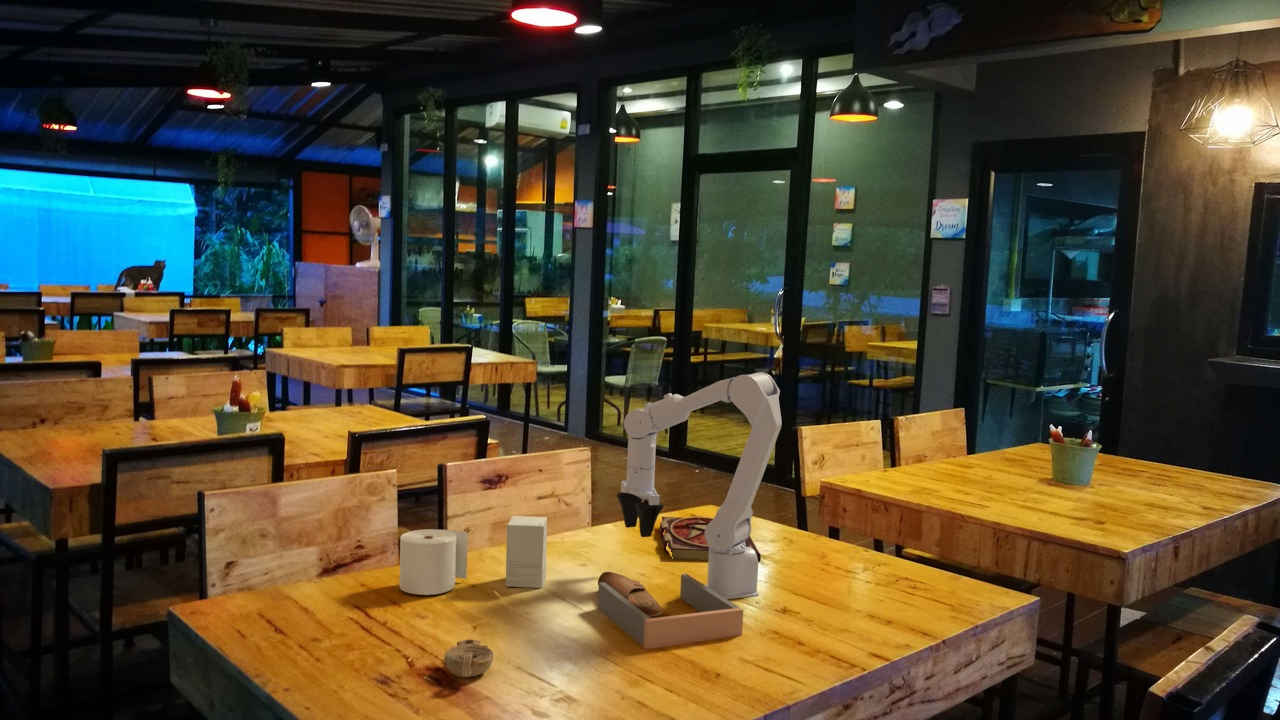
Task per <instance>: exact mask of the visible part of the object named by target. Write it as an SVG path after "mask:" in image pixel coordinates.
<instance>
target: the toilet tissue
mask: <svg viewBox="0 0 1280 720" xmlns="http://www.w3.org/2000/svg"><path fill="white" fill-rule="evenodd" d="M468 537H469V532H468V531H462V530H456V529H455V530H452V529H435V528H434V529H433V528H432V529H418V530H417V529H416V530H411V531H407V532H404V533H403V534H401V535H400V543H399V544H400V546H399V548H400V549H399V554H400V555H399V577H398V578H399V579H398V580H399V583H398V584H399V585H398V586H399V590H401V591H403V592H404V593H408V594H412V595H421V596H422V595H425V596H431V595H439V594H443V593H447V592H449V591H451V590H453V589H454V588H455V586H456V578H458V579H459V578H460V579H465V580H467V578H468V577H467V575H468V570H467V568H468V551H469V550H468V541H469V539H468Z"/></svg>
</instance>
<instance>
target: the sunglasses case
mask: <svg viewBox="0 0 1280 720" xmlns="http://www.w3.org/2000/svg"><path fill="white" fill-rule="evenodd" d="M602 582H605V583H606V584H608V585H609V586H610V587H612V588H613V589H614V590H615V591H617V592H618V593H619V594H621V595H622V596H623V597H624V598H626V599H627V600H628V601H629V602H631V603H632V604H633V605H635V606H636V607H637V608H638V609H640V610H641V611H642V612H644V613H645V614H646V615H647V616H649V617H650V618H656V617H660V616H662V615H664V614H665V612H664V610H663V608H662V607H661V605H660V604H659V602H657V601H656V599H655V598H654V597H653V596H652V594H650V592H648V590H647V589H646V587H645V586H644V585H643V584H642V583H641V582H639V581H638V580H634V579H632V578H629V577H627V576H625V575H623V574H619V573H616V572H612V571H604V572H602V573H601V575H600V576H599V577H598V580H597V585H598V587H599V583H602Z"/></svg>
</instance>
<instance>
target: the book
mask: <svg viewBox="0 0 1280 720" xmlns="http://www.w3.org/2000/svg"><path fill="white" fill-rule="evenodd" d="M713 519H714V517H709V516H689V517H684V516H683V517H681V516H680V517H677V516H661V520H662V521H660V524H659V532H660V533H659V534H661V535H660V539H661V541H662V542H661V543H662V548H664V549H663V552H664V554H668V552H667V550H666V546H667V543H668V547H669V549H671V552H672V557H673V559H672V560H687V559H690V561H691V560H693V561H695V559H697V560H698V561H701V560H703V561H708V560H709V545H708V544H707V542H706V539H705V529H706V526H707V525H708V524H709V523H710V522H711V521H712V520H713ZM664 530H665V534H664V535H663V532H664ZM745 545H746V547H750V548H752V549H753V550H754V551H755V552H756V555H757V558H758V563H760V562H761V561H762V556H761V554H760V551H759V550H758V548H757V546H756V545H755V543H754V541H753V539H752V538H751V534H750V535H749V537H748V538H747V539H746V540H745ZM697 560H696V561H697Z"/></svg>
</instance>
